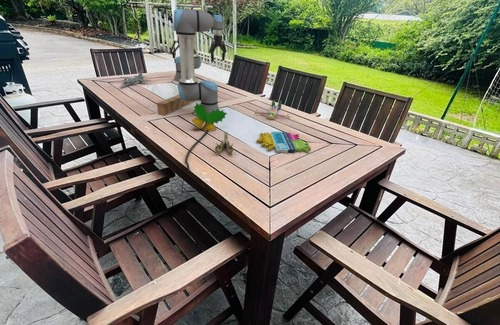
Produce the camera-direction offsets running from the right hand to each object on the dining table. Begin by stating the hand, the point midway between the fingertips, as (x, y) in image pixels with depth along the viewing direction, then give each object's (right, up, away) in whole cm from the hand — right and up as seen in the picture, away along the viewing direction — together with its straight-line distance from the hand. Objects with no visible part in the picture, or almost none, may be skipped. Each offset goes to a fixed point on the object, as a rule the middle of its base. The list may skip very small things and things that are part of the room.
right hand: (183, 63), depth 211 cm
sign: (+72, -69, -58) cm, 116 cm away
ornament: (+28, -59, -46) cm, 80 cm away
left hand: (+24, +13, +28) cm, 39 cm away
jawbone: (+40, -75, -72) cm, 111 cm away
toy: (+71, -44, -13) cm, 85 cm away
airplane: (-57, -5, +40) cm, 70 cm away
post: (+5, -30, +2) cm, 31 cm away
